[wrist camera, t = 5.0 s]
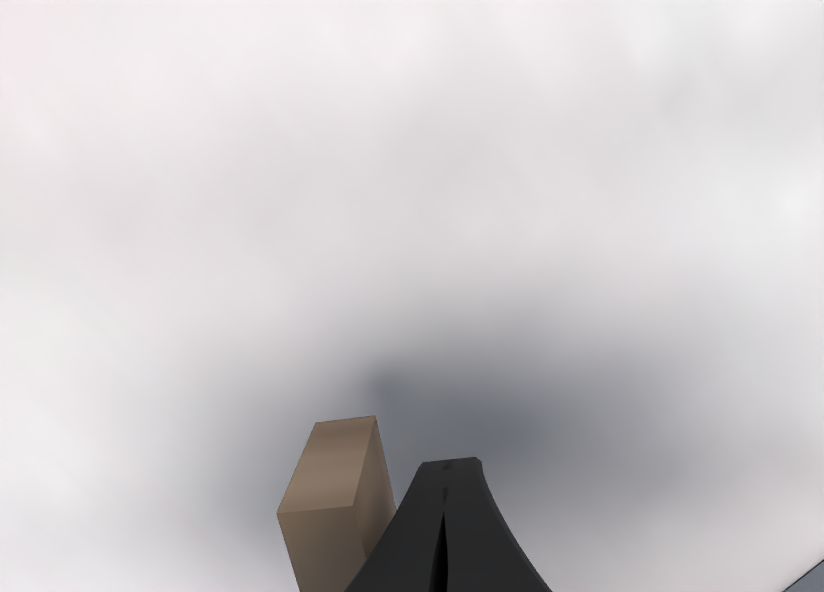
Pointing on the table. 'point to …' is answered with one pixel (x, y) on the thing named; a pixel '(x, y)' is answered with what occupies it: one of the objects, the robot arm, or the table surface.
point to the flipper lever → (336, 504)
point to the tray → (810, 581)
